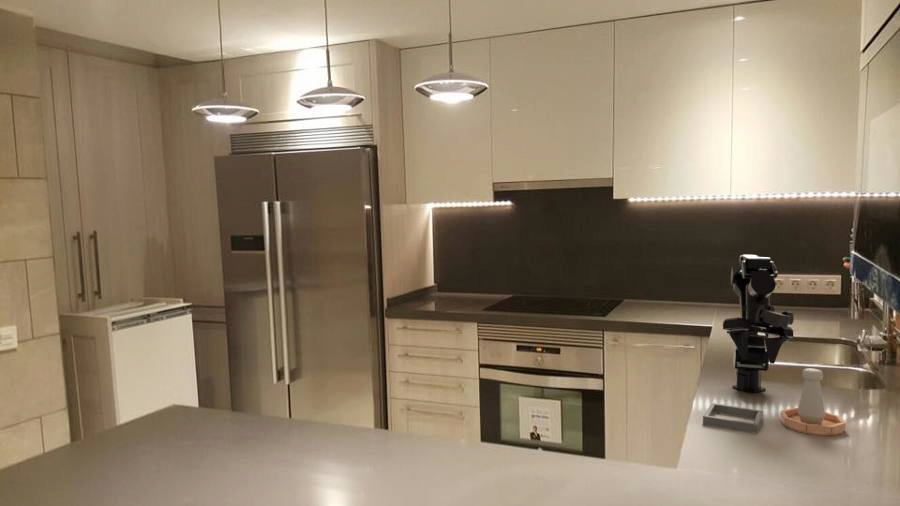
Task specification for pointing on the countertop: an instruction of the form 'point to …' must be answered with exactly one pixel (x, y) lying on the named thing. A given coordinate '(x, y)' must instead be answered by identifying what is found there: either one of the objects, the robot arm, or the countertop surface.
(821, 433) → the terracotta dish
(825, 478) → the countertop surface
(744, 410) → the charcoal tray
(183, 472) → the countertop surface
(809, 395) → the salt shaker
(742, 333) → the robot arm
